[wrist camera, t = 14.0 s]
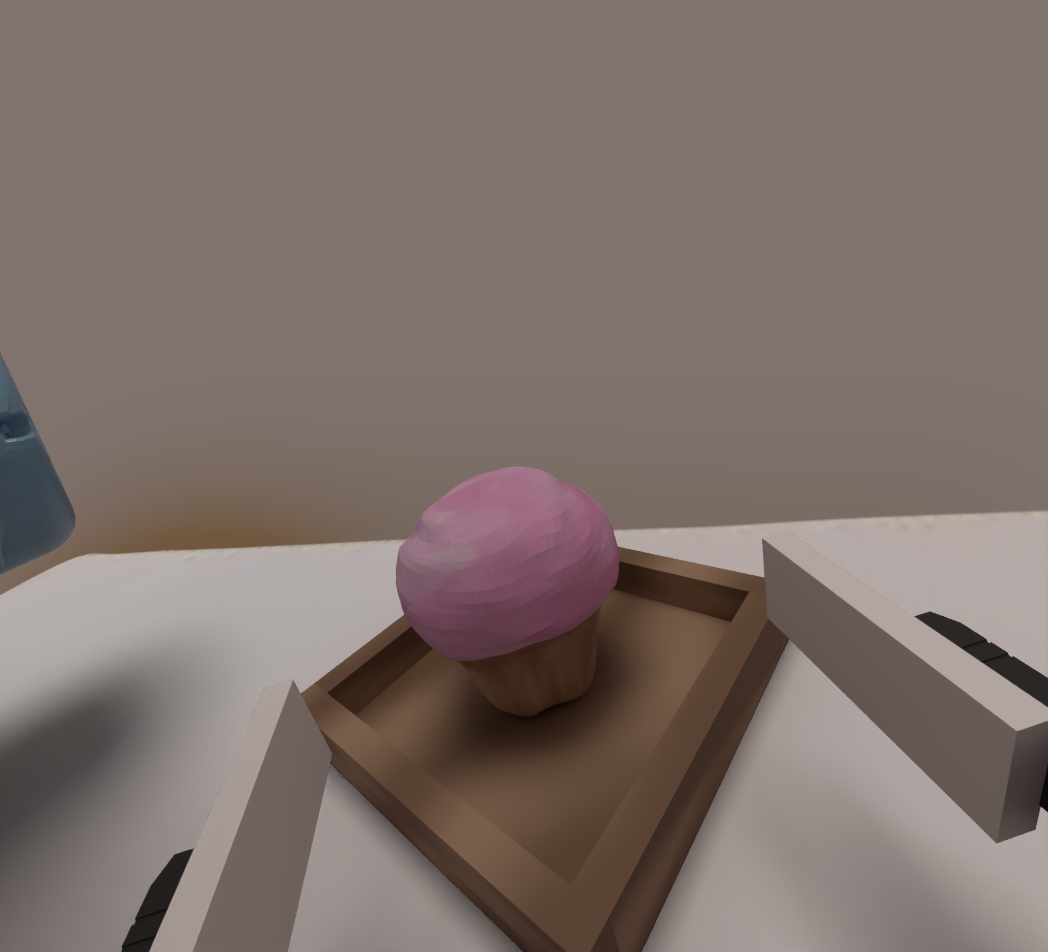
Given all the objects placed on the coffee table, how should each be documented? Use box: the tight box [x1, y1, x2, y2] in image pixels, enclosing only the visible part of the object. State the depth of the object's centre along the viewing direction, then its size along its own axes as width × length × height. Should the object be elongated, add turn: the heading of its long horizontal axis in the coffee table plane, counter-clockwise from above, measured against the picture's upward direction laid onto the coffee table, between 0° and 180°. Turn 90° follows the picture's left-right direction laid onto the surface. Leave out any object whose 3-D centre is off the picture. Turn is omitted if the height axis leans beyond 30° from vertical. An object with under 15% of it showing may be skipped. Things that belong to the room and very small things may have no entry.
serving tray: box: [301, 547, 789, 952], centre depth 23 cm, size 16×16×3 cm
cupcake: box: [396, 466, 619, 717], centre depth 21 cm, size 9×9×10 cm
